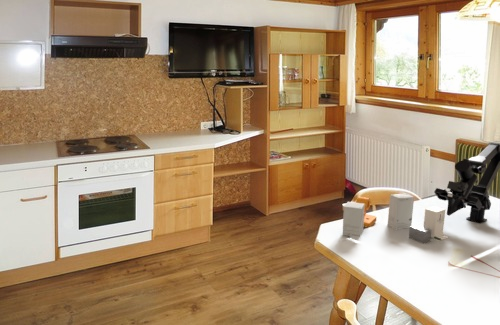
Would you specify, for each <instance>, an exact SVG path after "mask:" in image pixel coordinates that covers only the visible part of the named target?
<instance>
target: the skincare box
mask: <svg viewBox="0 0 500 325" xmlns="http://www.w3.org/2000/svg"><path fill="white" fill-rule="evenodd" d="M414 199H415V196H413V195H410V194H408V193H397V194H395V193H393V194H390V196H389V204H388V205H389V207H388V216H387V226H389V227H390V228H392V229H393V230H402V229H406V228H407V229H410V226H412V221H413V211H414V203H415V200H414Z"/></svg>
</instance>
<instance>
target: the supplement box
mask: <svg viewBox="0 0 500 325" xmlns="http://www.w3.org/2000/svg"><path fill="white" fill-rule="evenodd" d="M364 208H365V204H363V203H356V201H355V202H354V201H353V202H352V201H347V202H346V203H345V204H344V206H343V217H342V218H343V219H342V236H346V237H349V235H351V236H359V237H361V236H362V234H363V232H364V227H363V226H364Z"/></svg>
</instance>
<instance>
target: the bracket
mask: <svg viewBox="0 0 500 325" xmlns="http://www.w3.org/2000/svg"><path fill="white" fill-rule="evenodd" d="M355 203H363V204H365V208H364V226H363V228H372V227H373V226H375V224H376V221H377V216H376V215H371V214H367V211H369V210H370V207H371V198H369V197H365V196H358V197H357V198H356V201H355Z"/></svg>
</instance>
